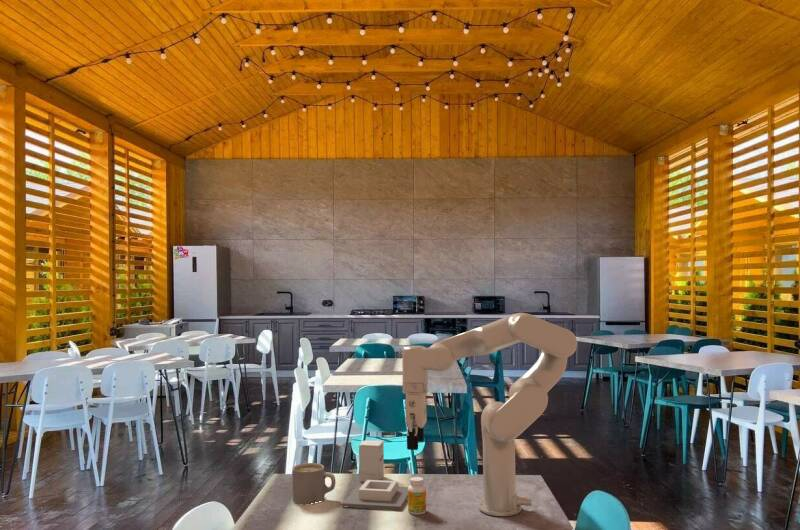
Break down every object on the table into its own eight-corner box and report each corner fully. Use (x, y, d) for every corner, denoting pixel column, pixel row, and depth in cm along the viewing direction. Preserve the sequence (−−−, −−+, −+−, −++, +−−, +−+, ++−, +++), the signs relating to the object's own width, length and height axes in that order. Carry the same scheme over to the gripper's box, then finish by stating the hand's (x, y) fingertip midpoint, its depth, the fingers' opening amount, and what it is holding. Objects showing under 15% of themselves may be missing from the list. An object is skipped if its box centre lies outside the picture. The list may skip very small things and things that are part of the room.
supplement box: (379, 483, 213) (379, 445, 213) (358, 482, 214) (358, 444, 215) (384, 476, 220) (384, 440, 220) (364, 475, 222) (363, 439, 222)
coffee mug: (288, 503, 194) (287, 471, 194) (299, 493, 203) (299, 462, 204) (329, 506, 191) (329, 473, 191) (338, 495, 201) (338, 464, 201)
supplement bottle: (412, 516, 182) (412, 482, 182) (405, 510, 187) (404, 477, 187) (429, 513, 184) (428, 480, 184) (421, 507, 189) (421, 475, 189)
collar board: (411, 491, 204) (411, 478, 204) (400, 510, 187) (400, 496, 187) (358, 488, 208) (358, 475, 208) (342, 507, 190) (342, 493, 190)
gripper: (422, 392, 178) (423, 453, 177) (431, 383, 194) (432, 438, 194) (396, 392, 179) (397, 452, 178) (408, 382, 196) (408, 437, 195)
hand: (415, 445), depth 186 cm, fingers open, 9 cm apart
